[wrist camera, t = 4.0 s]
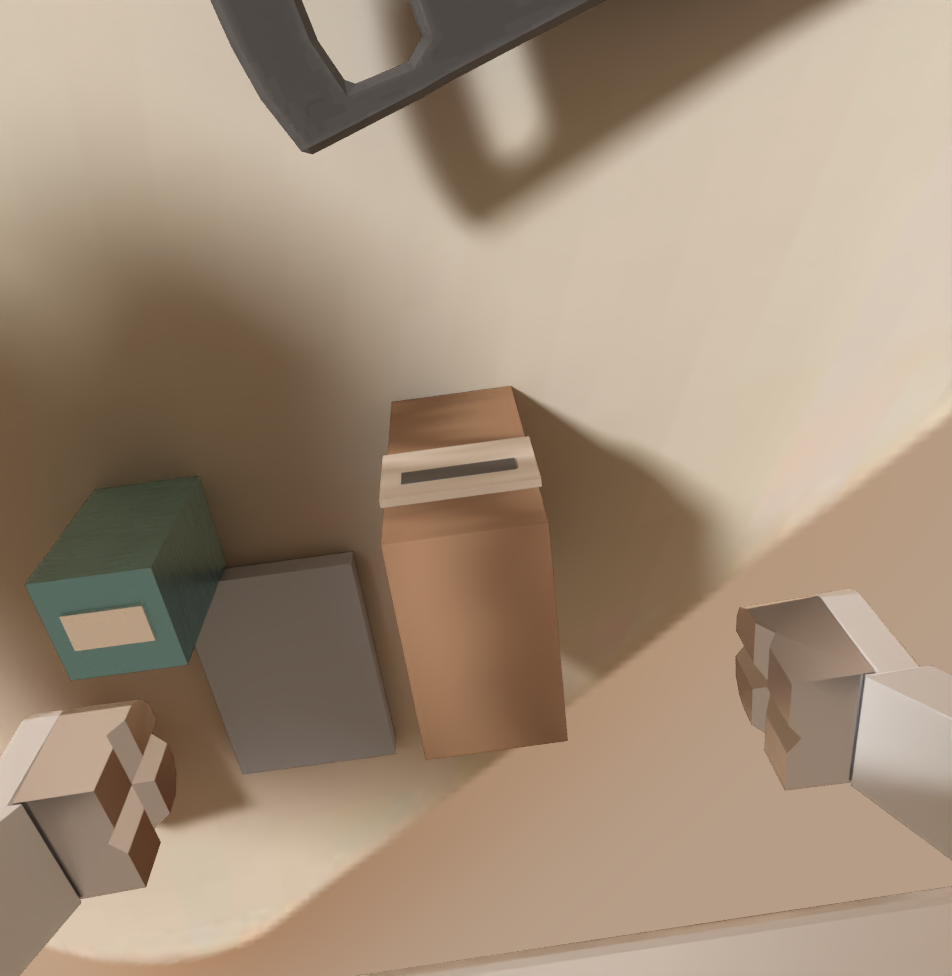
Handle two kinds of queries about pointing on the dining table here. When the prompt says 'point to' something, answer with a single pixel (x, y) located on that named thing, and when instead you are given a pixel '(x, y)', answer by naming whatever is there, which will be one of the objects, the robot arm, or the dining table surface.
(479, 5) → the zipper pull
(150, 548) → the block
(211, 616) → the felt pad
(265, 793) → the dining table surface
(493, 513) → the block
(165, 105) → the dining table surface
